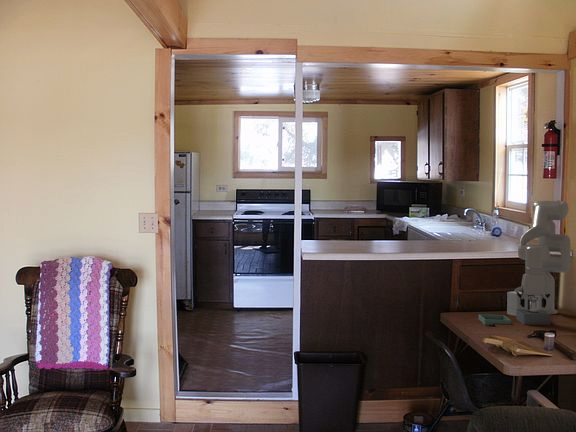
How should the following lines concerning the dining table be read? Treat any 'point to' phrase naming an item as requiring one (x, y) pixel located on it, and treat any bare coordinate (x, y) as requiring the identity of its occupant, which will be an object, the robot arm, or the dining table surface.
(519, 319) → the socket block
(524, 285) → the robot arm
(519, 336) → the dining table surface
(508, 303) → the supplement box
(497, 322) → the tray
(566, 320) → the dining table surface
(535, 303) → the pin
